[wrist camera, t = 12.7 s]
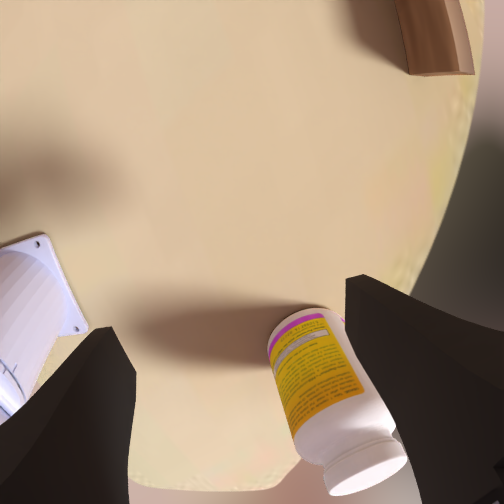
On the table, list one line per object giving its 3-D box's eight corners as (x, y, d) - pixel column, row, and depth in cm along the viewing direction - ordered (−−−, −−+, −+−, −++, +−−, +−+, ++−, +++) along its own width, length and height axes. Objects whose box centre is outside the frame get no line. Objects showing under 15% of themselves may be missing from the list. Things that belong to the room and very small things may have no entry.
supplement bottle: (251, 358, 23) (286, 507, 12) (291, 293, 21) (367, 452, 10) (317, 372, 25) (369, 494, 14) (359, 315, 23) (443, 440, 12)
